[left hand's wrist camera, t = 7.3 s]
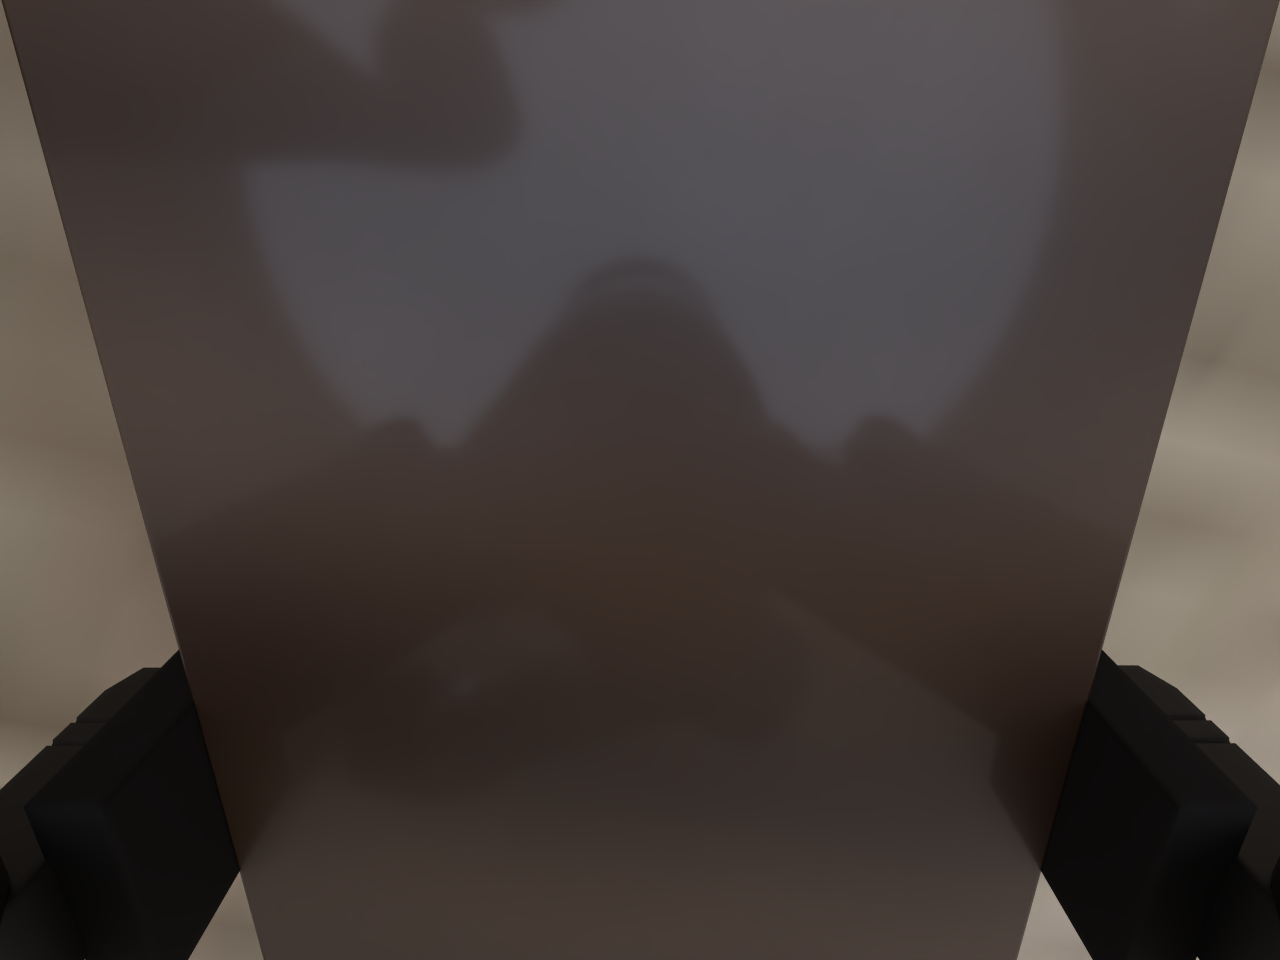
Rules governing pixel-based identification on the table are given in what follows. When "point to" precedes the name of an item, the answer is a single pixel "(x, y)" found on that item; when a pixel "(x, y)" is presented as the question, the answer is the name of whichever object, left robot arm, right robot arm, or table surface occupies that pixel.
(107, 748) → the left robot arm
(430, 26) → the small wooden cabinet
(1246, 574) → the table surface
